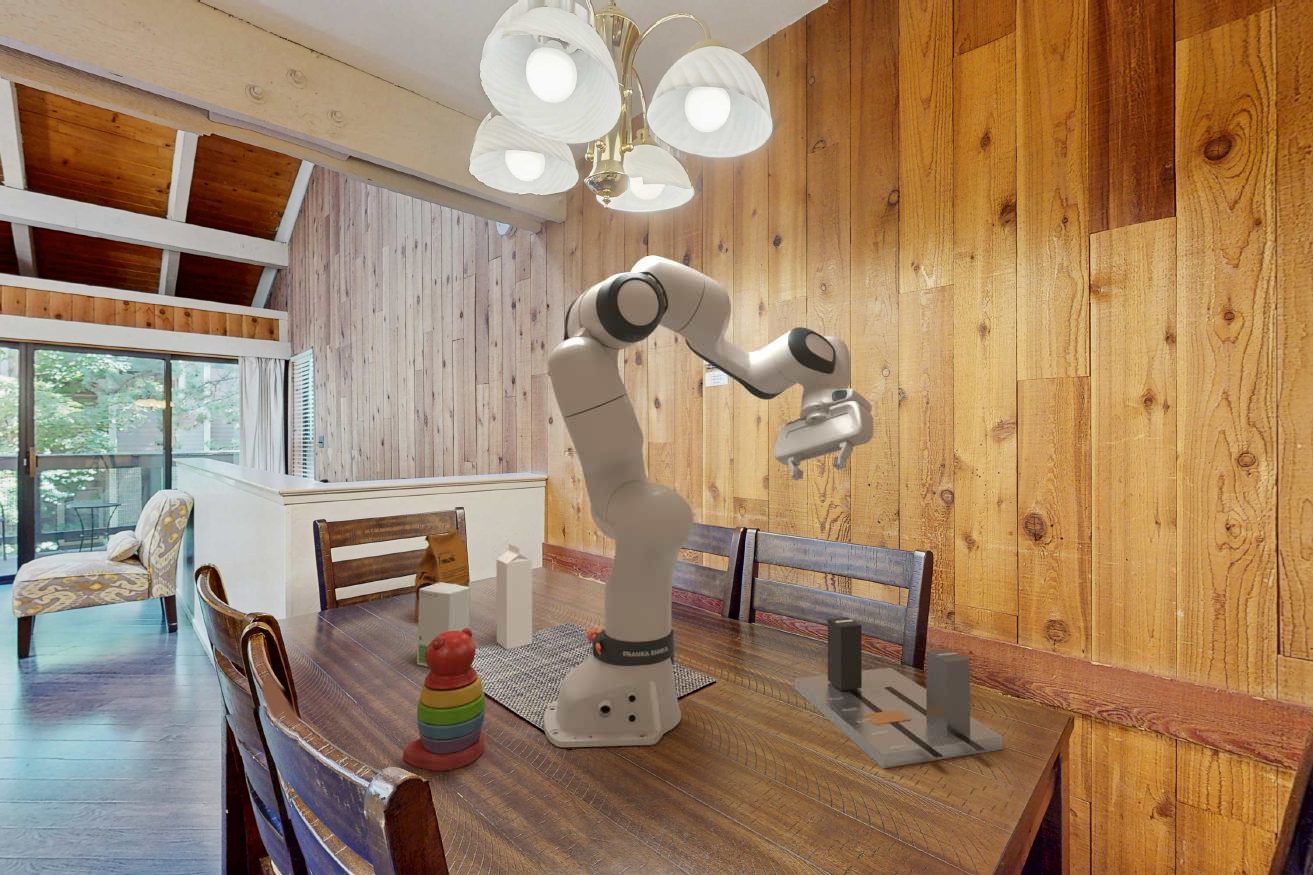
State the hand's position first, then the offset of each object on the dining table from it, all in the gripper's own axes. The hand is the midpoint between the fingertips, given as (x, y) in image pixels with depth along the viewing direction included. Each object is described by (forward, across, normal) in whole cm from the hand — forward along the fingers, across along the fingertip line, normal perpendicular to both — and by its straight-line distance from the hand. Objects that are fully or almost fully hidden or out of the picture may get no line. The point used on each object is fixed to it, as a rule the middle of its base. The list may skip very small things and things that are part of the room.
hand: (817, 473), depth 105 cm
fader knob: (+32, -5, +19) cm, 38 cm away
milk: (+36, -66, -16) cm, 77 cm away
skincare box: (+44, -65, -30) cm, 84 cm away
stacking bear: (+57, -32, -36) cm, 75 cm away
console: (+37, +4, +20) cm, 42 cm away
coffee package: (+33, -94, -25) cm, 103 cm away
